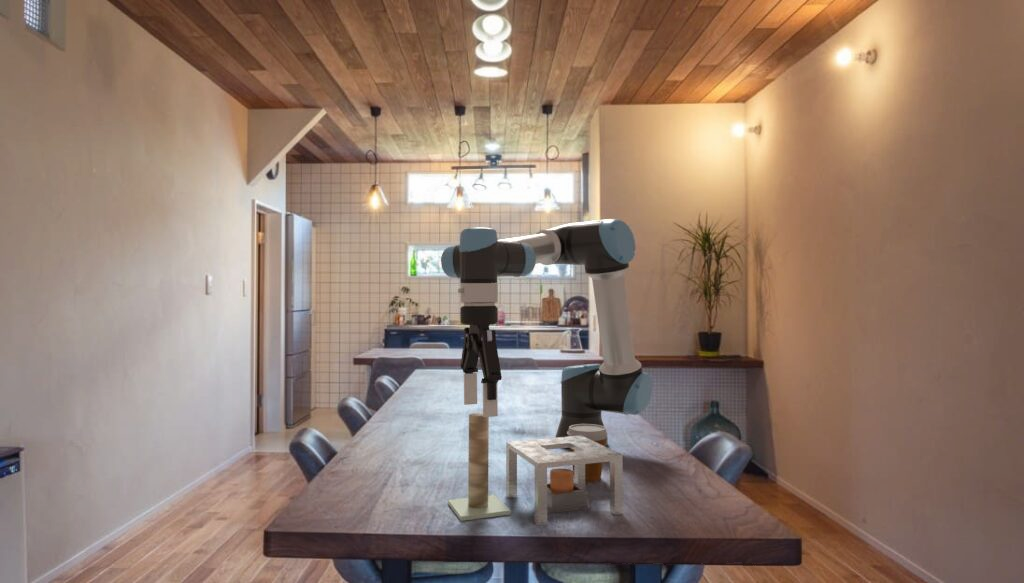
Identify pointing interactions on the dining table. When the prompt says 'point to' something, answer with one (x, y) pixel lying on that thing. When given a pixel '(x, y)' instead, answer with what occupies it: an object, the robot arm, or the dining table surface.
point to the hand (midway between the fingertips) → (479, 410)
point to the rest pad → (478, 509)
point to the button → (561, 480)
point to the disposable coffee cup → (594, 434)
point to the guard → (544, 459)
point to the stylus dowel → (478, 461)
